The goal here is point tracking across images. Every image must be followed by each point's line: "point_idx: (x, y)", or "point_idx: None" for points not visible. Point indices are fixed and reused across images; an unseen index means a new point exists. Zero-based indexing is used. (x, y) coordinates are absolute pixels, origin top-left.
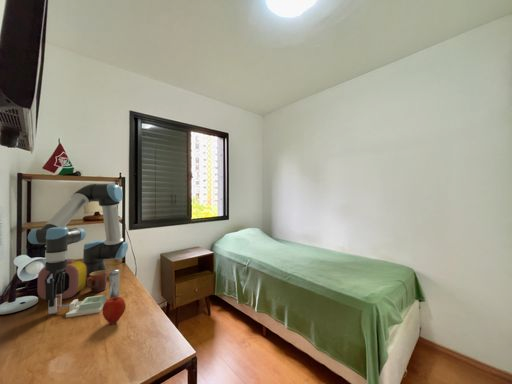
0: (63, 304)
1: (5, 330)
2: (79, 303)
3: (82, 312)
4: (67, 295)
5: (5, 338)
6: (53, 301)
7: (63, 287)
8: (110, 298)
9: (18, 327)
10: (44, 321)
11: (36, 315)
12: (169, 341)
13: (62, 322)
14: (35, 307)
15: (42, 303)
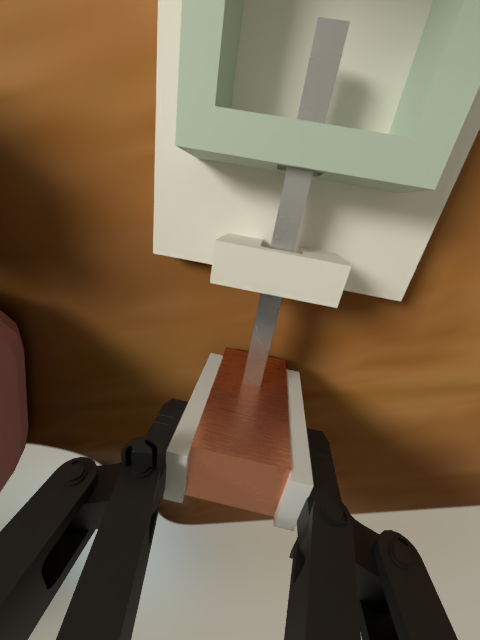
0: (249, 356)
1: None
2: (303, 208)
3: (464, 146)
4: (7, 349)
5: (440, 506)
6: (327, 477)
7: (59, 507)
8: None
9: (340, 483)
10: (350, 400)
11: None
12: None
13: (474, 298)
14: (110, 456)
15: (66, 438)
